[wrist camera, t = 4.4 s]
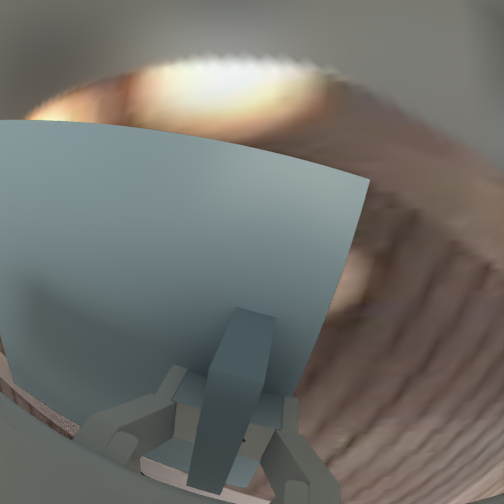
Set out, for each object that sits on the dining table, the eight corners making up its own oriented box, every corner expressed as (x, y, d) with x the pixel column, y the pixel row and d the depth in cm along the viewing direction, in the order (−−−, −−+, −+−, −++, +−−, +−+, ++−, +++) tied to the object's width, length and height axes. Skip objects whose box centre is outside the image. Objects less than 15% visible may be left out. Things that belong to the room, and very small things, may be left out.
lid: (251, 460, 14) (235, 534, 9) (31, 367, 15) (-14, 408, 10) (356, 176, 9) (408, 189, 5) (21, 120, 10) (-60, 122, 6)
